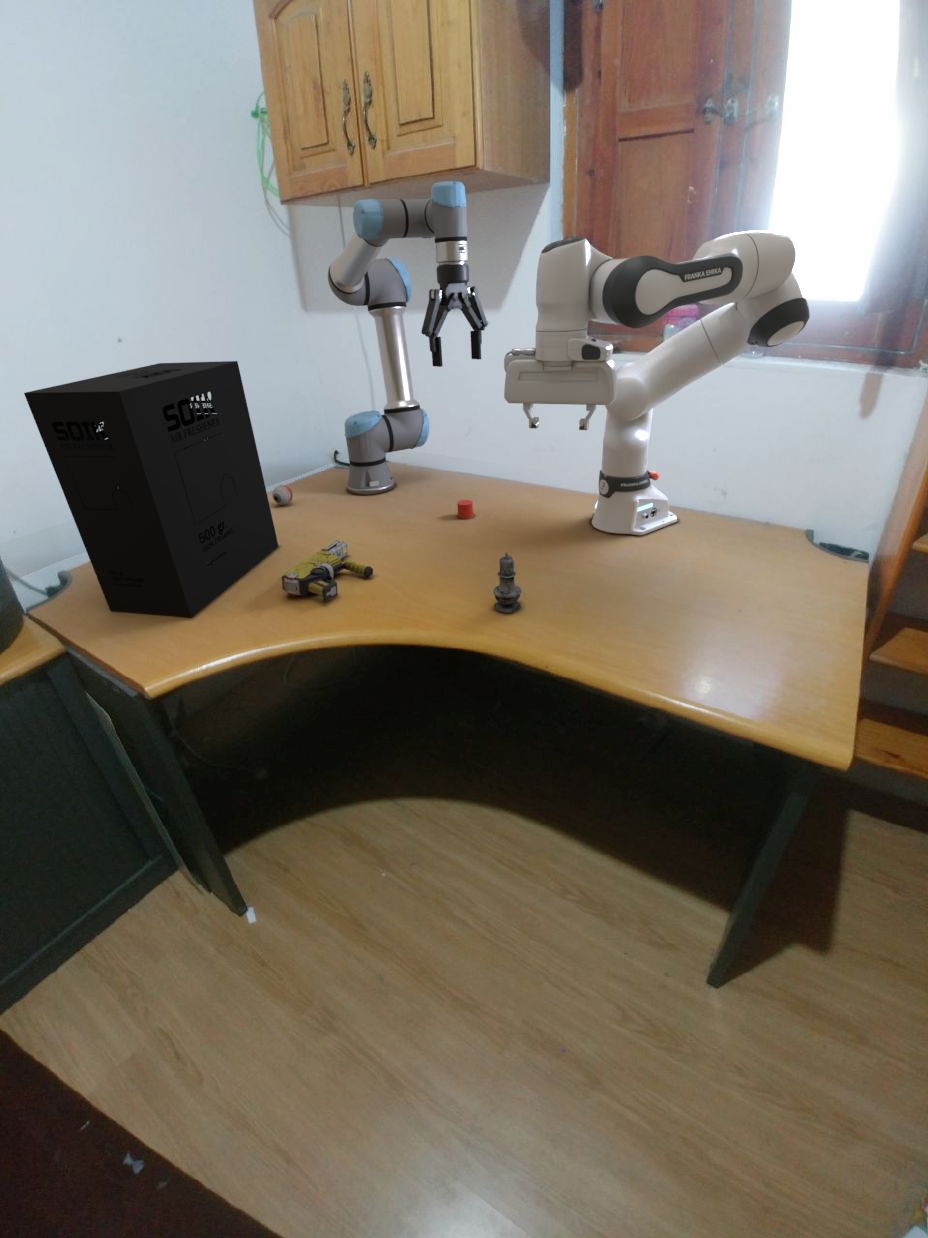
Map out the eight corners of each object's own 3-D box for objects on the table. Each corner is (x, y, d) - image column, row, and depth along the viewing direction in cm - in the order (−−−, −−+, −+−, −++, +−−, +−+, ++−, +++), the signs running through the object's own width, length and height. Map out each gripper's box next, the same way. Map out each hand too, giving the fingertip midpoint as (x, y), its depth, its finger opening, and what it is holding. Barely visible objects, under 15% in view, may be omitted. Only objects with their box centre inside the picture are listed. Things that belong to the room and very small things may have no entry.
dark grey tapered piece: (519, 614, 120) (519, 559, 114) (490, 612, 122) (489, 558, 116) (523, 600, 125) (523, 546, 119) (495, 598, 127) (493, 545, 121)
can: (458, 519, 169) (457, 505, 167) (457, 514, 172) (456, 500, 170) (473, 518, 169) (473, 504, 167) (472, 513, 172) (472, 499, 170)
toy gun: (389, 548, 145) (334, 537, 149) (339, 588, 125) (277, 575, 129) (389, 566, 147) (335, 555, 151) (340, 608, 127) (279, 595, 131)
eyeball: (269, 507, 186) (265, 488, 183) (282, 500, 191) (278, 481, 188) (285, 508, 183) (282, 489, 180) (298, 502, 188) (294, 483, 185)
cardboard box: (191, 617, 126) (119, 391, 104) (110, 610, 131) (23, 392, 108) (278, 546, 158) (237, 360, 135) (210, 542, 162) (159, 363, 140)
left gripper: (423, 264, 130) (430, 370, 140) (500, 261, 145) (502, 356, 155) (400, 266, 135) (409, 368, 145) (477, 262, 149) (480, 355, 160)
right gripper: (498, 350, 106) (500, 430, 113) (616, 349, 99) (610, 434, 106) (509, 346, 111) (509, 423, 118) (622, 344, 104) (616, 426, 111)
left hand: (457, 362), depth 150 cm, fingers open, 13 cm apart
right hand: (558, 428), depth 112 cm, fingers open, 8 cm apart
